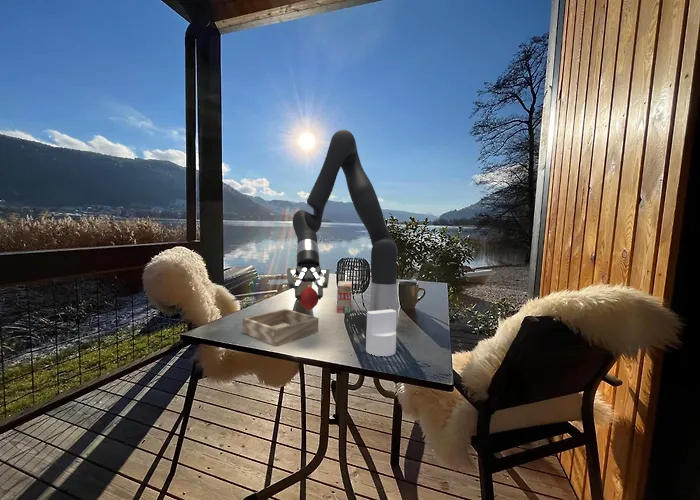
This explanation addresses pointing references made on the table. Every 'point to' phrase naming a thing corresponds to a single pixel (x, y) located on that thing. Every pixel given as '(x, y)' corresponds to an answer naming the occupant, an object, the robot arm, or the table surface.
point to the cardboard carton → (344, 297)
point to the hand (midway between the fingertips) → (309, 298)
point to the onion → (308, 298)
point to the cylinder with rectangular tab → (381, 332)
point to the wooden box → (277, 336)
